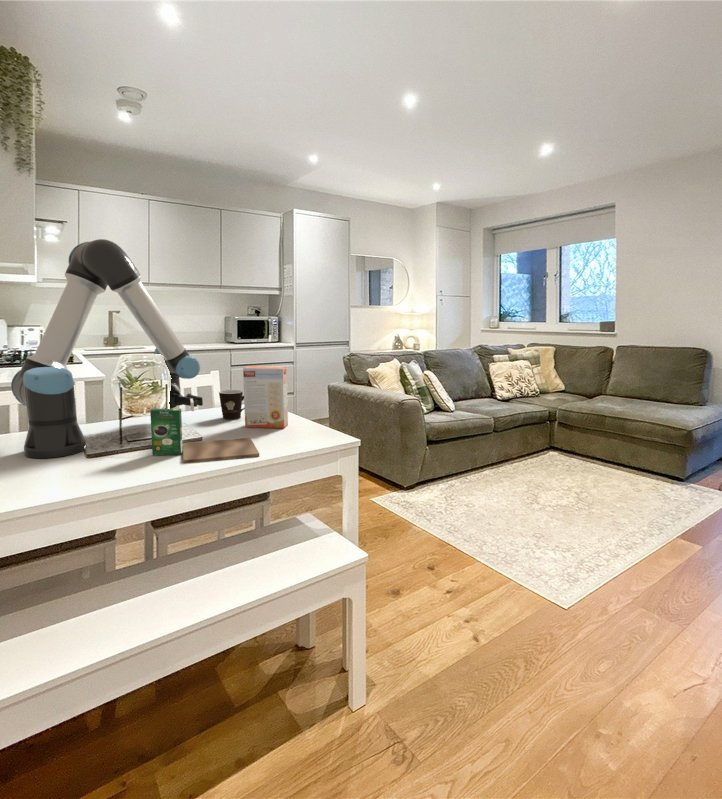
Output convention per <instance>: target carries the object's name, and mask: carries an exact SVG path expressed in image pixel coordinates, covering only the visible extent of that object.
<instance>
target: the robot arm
mask: <svg viewBox="0 0 722 799" xmlns="http://www.w3.org/2000/svg"><path fill="white" fill-rule="evenodd" d="M64 272H65V273H64V278H66V279H65V280H66V281H67V282H66V284H65V287H64V289H63V291H62V294H61V296H60V298H59V301H58V303H57V305H56V306H55V309H54V311H53V313H52V315H51V318H50V320H49V322H48V325H47V326H46V329H45V331H44V333H43V336H42V338H41V339H40V342H39V344H38V346H37V348H36V351H35V353H34V354H32V355H29V356H26V358H25V359H24V362H23V364H22V366H21V369H20V370H18V371H17V372H16V373H15V374H14V376H13V378H12V380H11V383H10V388H11V389H10V390H11V392H12V395H13V396H14V398H15V399H16V400H17V402H18V403H19V404H22V405H23V406H25V407H26V412H27V420H28V421H27V422H28V429H27V434H26V438H25V441H24V445H23V451H24V453H23V454H24V456H25V457H27V458H31V459H52V458H60V457H66V456H71V455H75V454H79V453H80V452H82V451H85V450H84V446H85V445H86V446H87V441H86V437H85V436H84V434H83V432H82V430H81V427H80V426H79V423H78V418H77V417H78V416H77V406H76V397H75V381H74V377H73V374H72V372H71V371H70V370H69V369H68V367H67V364H68V362H69V360H70V357H71V354H72V353H73V350H74V348H75V346H76V343H77V342H78V340H79V337H80V335H81V333H82V330H83V327H84V326H85V323H86V321H87V319H88V316H90V315H89V314H90V312H91V310H92V308H93V307H94V306H93V305H94V303H95V301H96V298H97V296H99V295H101V294H103V293H105V292H106V290H107V288H108V287H109V290H111V292H113V293H114V292H115V293H117V294H118V295H119V297H120V299H121V300H122V301H123V303H124V304H125V306H126V308H128V310H129V311H130V312H131V315H133V317H134V319H135V320H136V321H137V323H138V324H139V325H140V327H141V329H142V330H143V332H144V333H145V334H146V335H147V337H148V338H149V340H150V341H151V343H152V345H153V346H154V355H155V354H161V355H163V356H164V360H165V363H166V365H167V367H168V369H169V371H170V375H171V378H172V379H171V391H170V402H169V404H170V409H176V408H177V406H178V407H179V406H188V407H189V406H190V409H191V412H195V408H196V407H198V406H201V407H202V406H203V404H204V403H203V397H202V396H197V395H193V394H191V393H187V394H185V395H184V396H183V395H182V393H181V382H180V381H181V380H180V379H187V380H189V379H194V378H196V377H197V376H198V375H199V374H200V371H201V364H200V361H199V359H197V358H195V357H194V356H192V355H190V354H189V352H188V350H187V349H186V347H185V346H184V345H183V343H182V341H180V339H179V337H178V336H177V334H176V332H175V331H174V330H173V327H172V326H171V325H170V323H169V321H168V320H167V319H166V317H165V316H164V314H163V313H162V311H161V310H160V308H159V307H158V305H157V304H156V302H155V301H154V299H153V298H152V296H151V295H150V293H149V292H148V289H146V287H145V286H144V284H143V283H142V281H141V278H142V275H141V273H140V272H139V269H137V267H136V266H135V264H134V262H133V261H132V260H131V258H130V256H129V255H128V254H127V253H126V252H125V250H123V249H122V247H121V246H119V244H117V243H115V242H113V241H111V240H108V239H105V238H104V239H103V238H100V239H99V238H98V239H94V240H92V241H84V242H81V243H79V244H77V245H76V246H74V248H72V249H71V251H70V253H69V255H68V265H67V268H66V270H65V271H64ZM143 413H144V412H142V415H143V416H146V415H147V413H146V414H143Z"/></svg>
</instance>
